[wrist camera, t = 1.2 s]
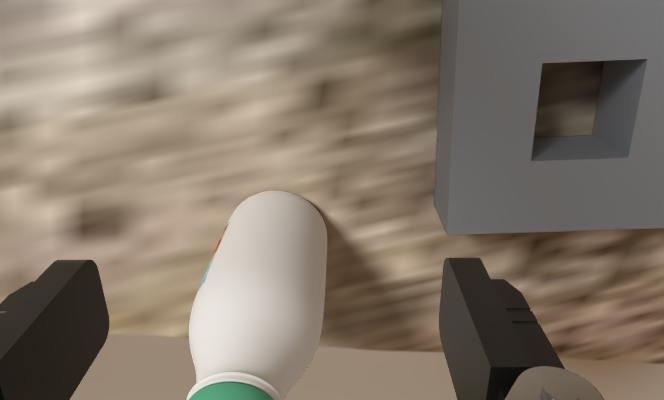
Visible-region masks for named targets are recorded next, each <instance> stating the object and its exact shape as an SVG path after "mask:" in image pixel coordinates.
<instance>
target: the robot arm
mask: <svg viewBox="0 0 664 400" xmlns="http://www.w3.org/2000/svg"><path fill="white" fill-rule="evenodd" d="M439 330H440V338H441V343H442V346H443V350H444V353H445V357H446V360H447V364H448V368H449V371H450V375H451V378H452V382H453V385H454V389H455V392H456V396H457V399H458V400H604V398H603V397H602V395H601V393H600V392H599V391H598V390H597V388H596V387H594V386H593V385H592V384H591V383H590V382H589V381H587V380H586V379H584V378H583V377H581V376H579V375H577V374H575V373H573V372H571V371H568V370H565V368H564V366H563V365H562V363H561V361H560V359H559V358H558V356H557V354H556V352H555V351H554V349H553V347H552V345H551V344H550V342H549V340H548V338H547V337H546V335H545V333H544V332H543V330H542V328H541V326H540V325H539V324H538V323H537V319H536V318H535V316H534V314H533V312H532V311H530V307H529V305H528V304H527V302H526V300H525V298H524V297H523V295H522V293H521V292H520V291H518V290H517V289H516V288H515V287H513V286H512V285H511V284H509V283H508V282H507V281H506V280H504V279H490V277H489V275H488V273H487V271H486V269H485V267H484V265H483V263H482V261H481V259H480V258H446V259H445V261H444V266H443V277H442V288H441V300H440V311H439ZM108 331H109V315H108V310H107V306H106V302H105V297H104V293H103V289H102V284H101V280H100V276H99V271H98V268H97V265H96V264H95V262H94V261H92V260H57V261H55V262H54V263H52V264H51V265H50V266H49V267H48V269H47V270H46V271H45V272H44V273H43V274H42V275H41V276H40V277H39V278H38V279H37V280H36V281H35V282H30V283H29V284H27V285H25V286H24V287H22V288H20V289H19V290H17V291H15V292H14V293H12V294H10V295H9V296H8V297H7V298H6V299H5V300H4V301H3V302H2V303H1V304H0V400H70V398H71V396H72V395H73V393H74V391H75V390H76V388H77V387H78V385H79V384H80V382H81V380H82V379H83V377H84V375H85V374H86V372H87V371H88V369H89V367H90V366H91V364H92V363H93V361H94V359H95V358H96V356H97V354H98V353H99V351H100V350H101V348H102V347H103V345H104V343H105V341H106V339H107V335H108Z"/></svg>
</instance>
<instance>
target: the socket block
mask: <svg viewBox="0 0 664 400" xmlns="http://www.w3.org/2000/svg"><path fill="white" fill-rule="evenodd" d="M586 61H604V65H603V71H602V77H601V83H600V89H599V95H598V101H597V107H596V114H595V120H594V126H593V132H592V135H587V136H560V137H534V131H535V122H536V114H537V105H538V97H539V88H540V80H541V71H542V63H561V62H586ZM434 206H435V208H436V210H437V213H438V215H439V218H440V220H441V222H442V225H443V227H444V229H445V232H446V234H447V235H464V234H495V233H527V232H559V231H590V230H622V229H654V228H664V0H442V21H441V46H440V70H439V95H438V120H437V145H436V170H435V195H434Z"/></svg>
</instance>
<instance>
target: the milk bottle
mask: <svg viewBox="0 0 664 400" xmlns="http://www.w3.org/2000/svg"><path fill="white" fill-rule="evenodd" d="M326 265H327V230H326V226H325V223H324V220H323V218H322V216H321V215H320V213H319V212H318V211H317V209H316V208H315V207H314V206H313V205H312V204H311V203H309V202H308V201H307V200H305V199H304V198H302V197H300V196H298V195H295V194H293V193H289V192H284V191H265V192H261V193H258V194H255V195H253V196H251V197H249V198H247V199H246V200H244V201H243V202H242V203H241V204H240V205H239V206H238V207H237V208H236V209H235V211H234V212H233V214H232V216H231V218H230V219H229V221H228V224H227V226H226V228H225V230H224V232H223V234H222V237H221V239H220V241H219V243H218V245H217V248H216V250H215V252H214V254H213V257H212V259H211V261H210V264H209V266H208V268H207V270H206V273H205V275H204V277H203V280H202V282H201V285H200V287H199V290H198V293H197V295H196V298H195V301H194V304H193V308H192V312H191V317H190V324H189V343H190V349H191V354H192V358H193V362H194V365H195V369H196V377H197V384H196V385H195V386H194V387H193V388H192V389H191V391H190V392H189V394H188V397H187V400H284V399H285V398H286V396H287V394H288V392H289V391H290V389H291V388H292V387H293V385H295V383H296V382H297V381H298V380H299V379H300V377H301V376H302V375H303V374H304V372H305V371H306V369H307V368H308V366H309V364H310V363H311V361H312V359H313V357H314V355H315V352H316V350H317V347H318V344H319V340H320V336H321V331H322V323H323V314H324V302H325V285H326Z"/></svg>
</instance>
